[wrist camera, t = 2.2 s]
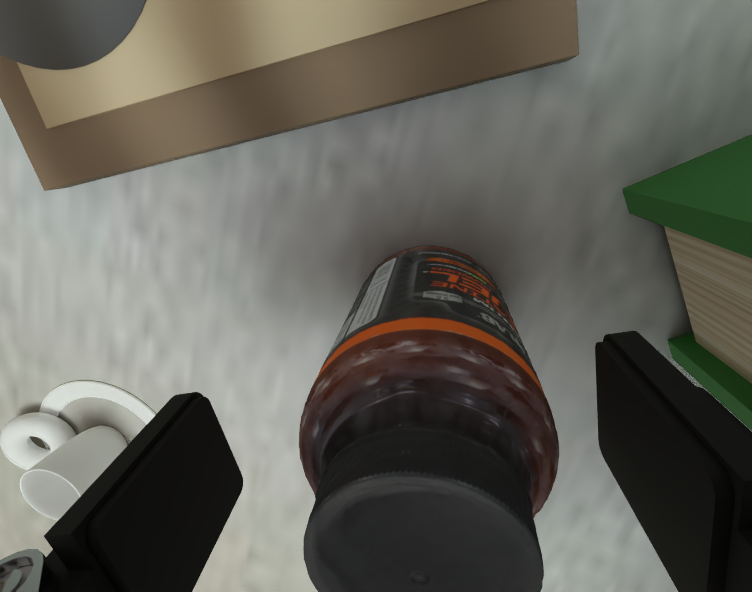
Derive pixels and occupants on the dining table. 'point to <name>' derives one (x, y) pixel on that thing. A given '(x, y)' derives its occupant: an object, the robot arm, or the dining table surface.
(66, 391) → the teacup and saucer
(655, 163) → the dining table surface
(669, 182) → the hardback book
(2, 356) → the dining table surface
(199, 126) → the brown flat wooden board
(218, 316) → the dining table surface
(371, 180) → the dining table surface
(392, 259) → the supplement bottle
